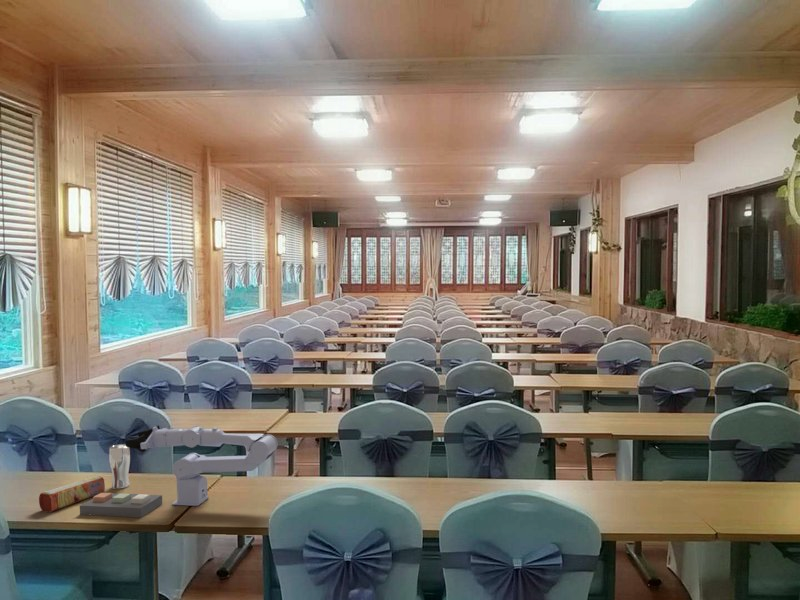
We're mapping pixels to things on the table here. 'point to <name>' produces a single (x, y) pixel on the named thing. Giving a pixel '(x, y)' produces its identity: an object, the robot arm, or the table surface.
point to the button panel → (121, 507)
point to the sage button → (121, 498)
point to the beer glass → (119, 465)
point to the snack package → (71, 493)
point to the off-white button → (140, 499)
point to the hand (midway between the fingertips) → (132, 439)
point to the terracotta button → (102, 497)
